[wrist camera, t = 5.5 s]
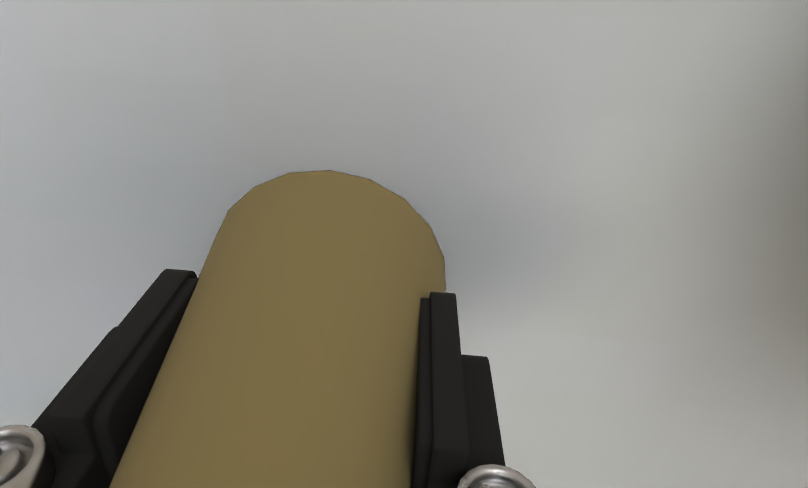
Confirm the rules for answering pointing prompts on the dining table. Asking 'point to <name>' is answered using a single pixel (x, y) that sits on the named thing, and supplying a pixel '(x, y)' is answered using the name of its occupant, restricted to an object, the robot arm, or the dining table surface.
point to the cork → (295, 346)
